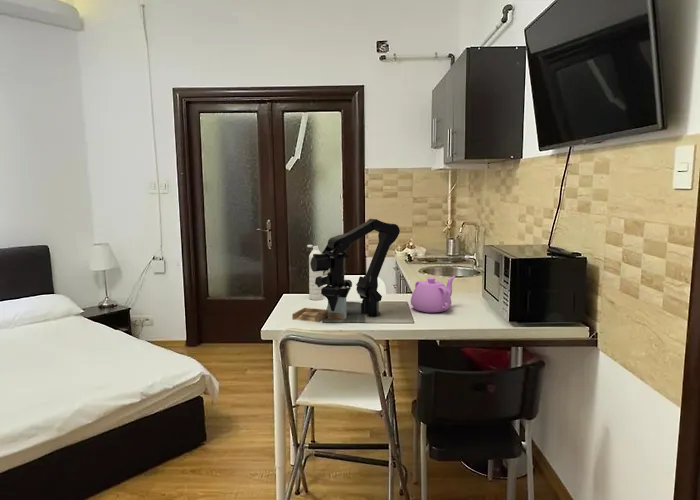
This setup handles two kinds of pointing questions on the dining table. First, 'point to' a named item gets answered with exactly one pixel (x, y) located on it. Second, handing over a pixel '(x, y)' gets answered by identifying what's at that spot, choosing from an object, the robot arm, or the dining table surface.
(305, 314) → the offcut top
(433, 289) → the teapot
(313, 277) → the water bottle
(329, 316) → the holder
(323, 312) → the tray
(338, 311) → the grey rectangular slab
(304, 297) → the dining table surface
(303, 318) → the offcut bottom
